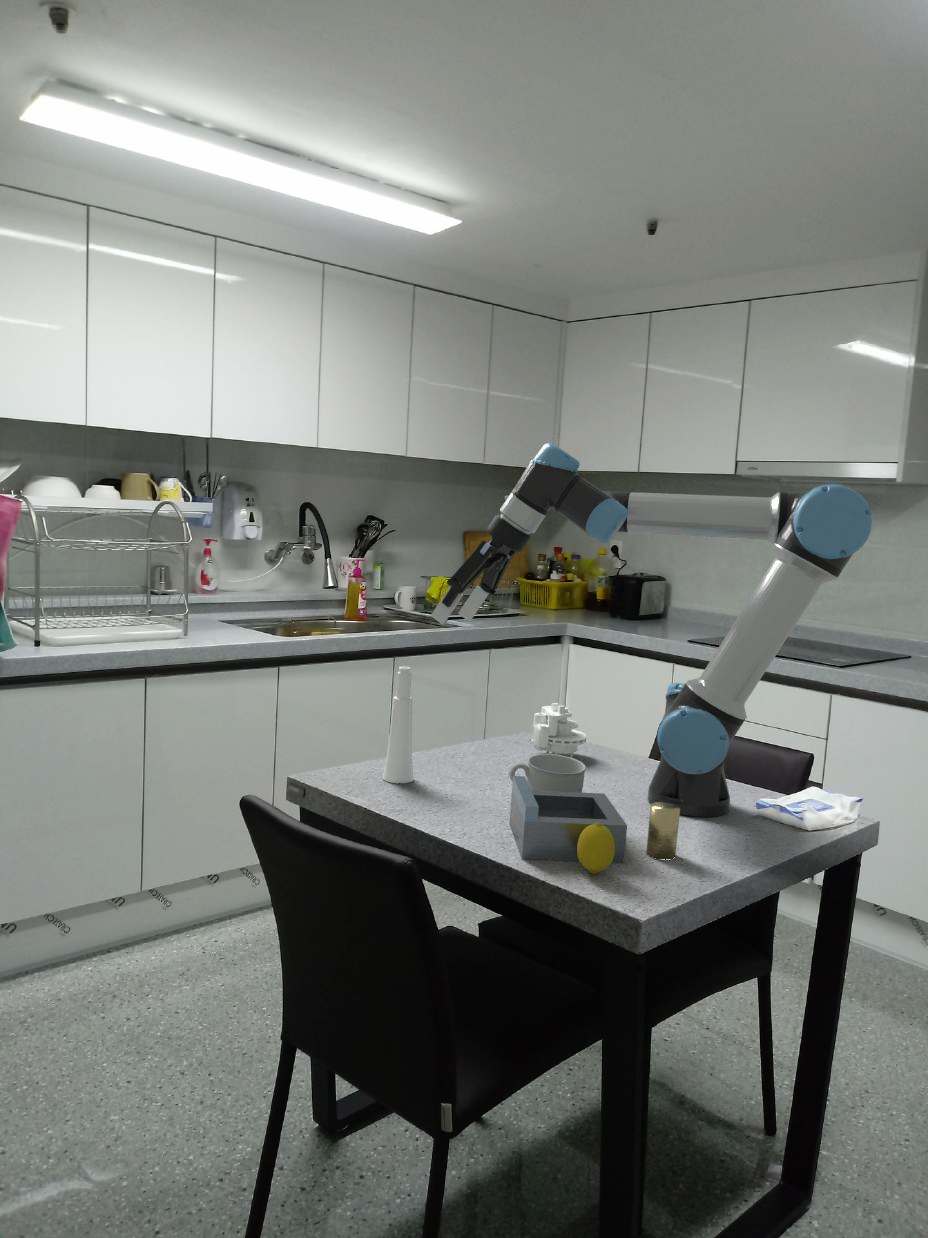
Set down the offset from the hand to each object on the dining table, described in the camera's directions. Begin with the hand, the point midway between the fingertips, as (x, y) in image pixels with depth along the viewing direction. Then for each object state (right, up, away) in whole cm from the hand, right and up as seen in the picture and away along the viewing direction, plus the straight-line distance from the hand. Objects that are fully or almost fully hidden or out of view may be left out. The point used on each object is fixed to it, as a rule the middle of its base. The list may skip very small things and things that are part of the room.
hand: (451, 618), depth 172 cm
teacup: (+17, -34, -1) cm, 38 cm away
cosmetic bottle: (-10, -31, +8) cm, 34 cm away
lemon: (+22, -38, -33) cm, 55 cm away
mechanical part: (+23, -31, +33) cm, 50 cm away
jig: (+19, -36, -20) cm, 46 cm away
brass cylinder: (+34, -38, -23) cm, 56 cm away
